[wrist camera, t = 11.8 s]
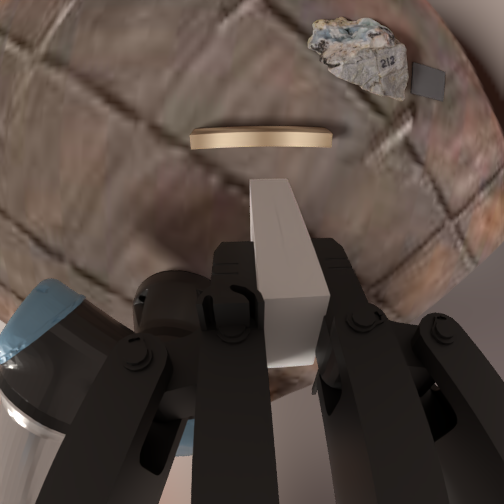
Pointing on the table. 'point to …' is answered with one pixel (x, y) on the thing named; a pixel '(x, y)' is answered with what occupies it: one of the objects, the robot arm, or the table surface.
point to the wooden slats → (260, 137)
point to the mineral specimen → (362, 54)
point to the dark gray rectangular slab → (427, 82)
